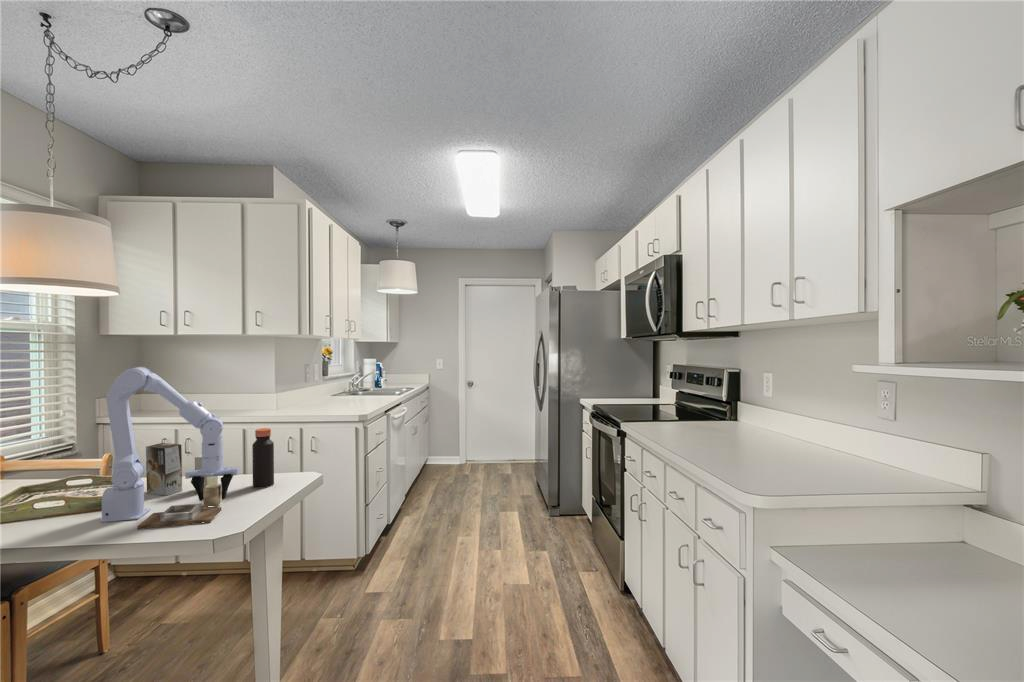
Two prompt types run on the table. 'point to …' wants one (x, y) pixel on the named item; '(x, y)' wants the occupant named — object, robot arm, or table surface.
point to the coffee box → (164, 468)
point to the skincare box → (208, 480)
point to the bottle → (263, 459)
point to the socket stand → (180, 516)
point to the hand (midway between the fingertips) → (212, 499)
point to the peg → (212, 495)
